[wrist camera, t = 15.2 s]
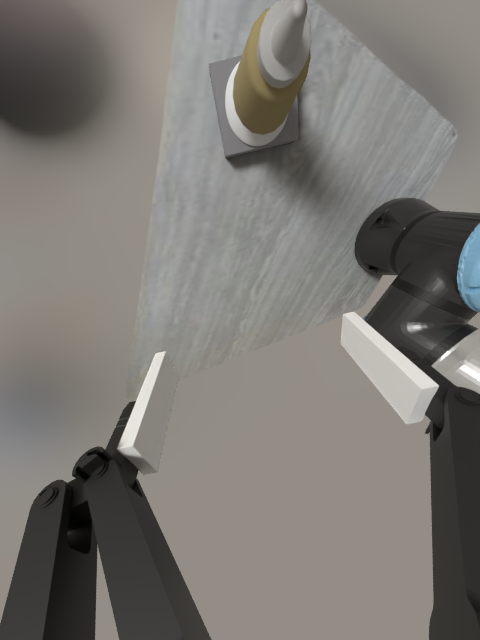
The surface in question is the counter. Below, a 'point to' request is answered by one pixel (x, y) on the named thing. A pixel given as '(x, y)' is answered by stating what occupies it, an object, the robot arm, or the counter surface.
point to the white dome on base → (231, 127)
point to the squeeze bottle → (273, 66)
